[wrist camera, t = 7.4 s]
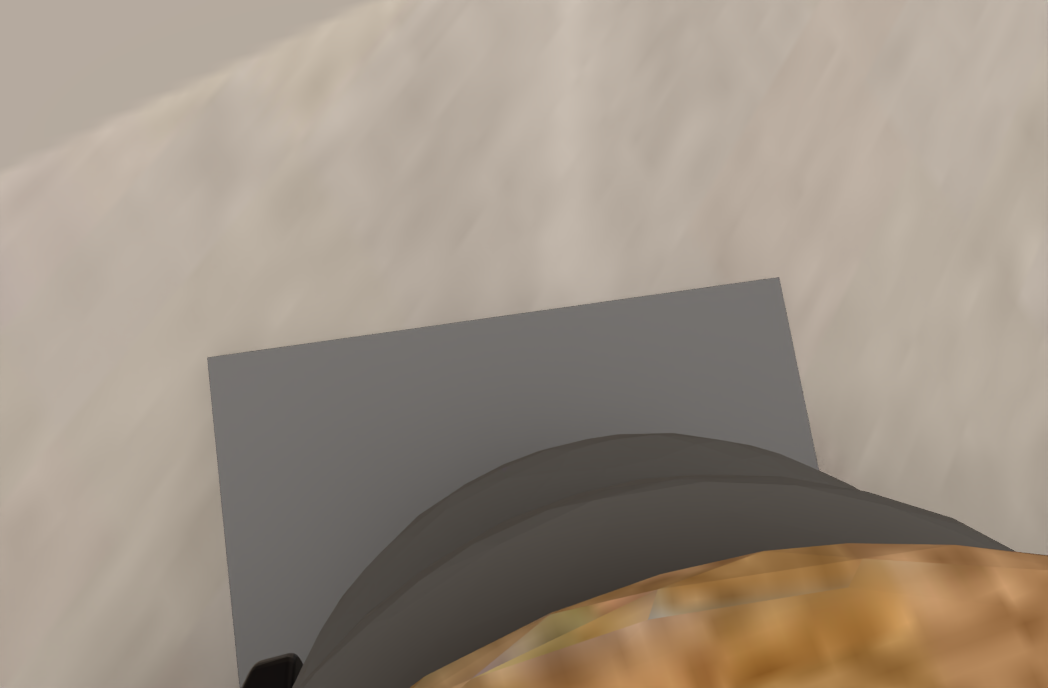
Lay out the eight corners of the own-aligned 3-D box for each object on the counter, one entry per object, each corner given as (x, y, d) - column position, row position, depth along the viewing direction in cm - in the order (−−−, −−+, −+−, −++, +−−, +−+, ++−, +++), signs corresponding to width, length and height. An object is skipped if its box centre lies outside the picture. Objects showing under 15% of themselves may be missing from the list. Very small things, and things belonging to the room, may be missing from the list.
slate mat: (894, 872, 17) (903, 881, 17) (276, 994, 16) (271, 1007, 16) (773, 281, 19) (778, 276, 19) (212, 360, 18) (207, 357, 18)
